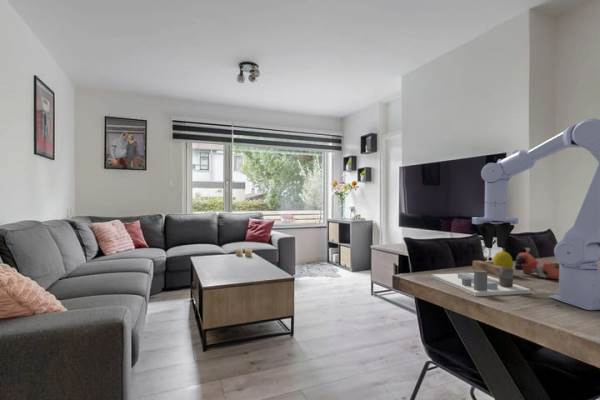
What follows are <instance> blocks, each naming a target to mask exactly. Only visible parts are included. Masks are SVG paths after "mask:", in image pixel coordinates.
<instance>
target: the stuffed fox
mask: <svg viewBox="0 0 600 400" xmlns="http://www.w3.org/2000/svg"><path fill="white" fill-rule="evenodd" d="M530 252H531V248H530V247H524V248H523V250H522V252H519V253H518V254H516V258H515V265H514V270H515V271H522V273H523V274H534V273H535V274H537V277H538V278H540V279H547V280H548V279H549V280H551V279H552V280H557V279H558V280H559V263H558V262H550V261H548V260H547V261H546V260H545V261H538V260H537V259H536V258H535V257H534V256H533V255H532V254H530Z"/></svg>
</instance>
